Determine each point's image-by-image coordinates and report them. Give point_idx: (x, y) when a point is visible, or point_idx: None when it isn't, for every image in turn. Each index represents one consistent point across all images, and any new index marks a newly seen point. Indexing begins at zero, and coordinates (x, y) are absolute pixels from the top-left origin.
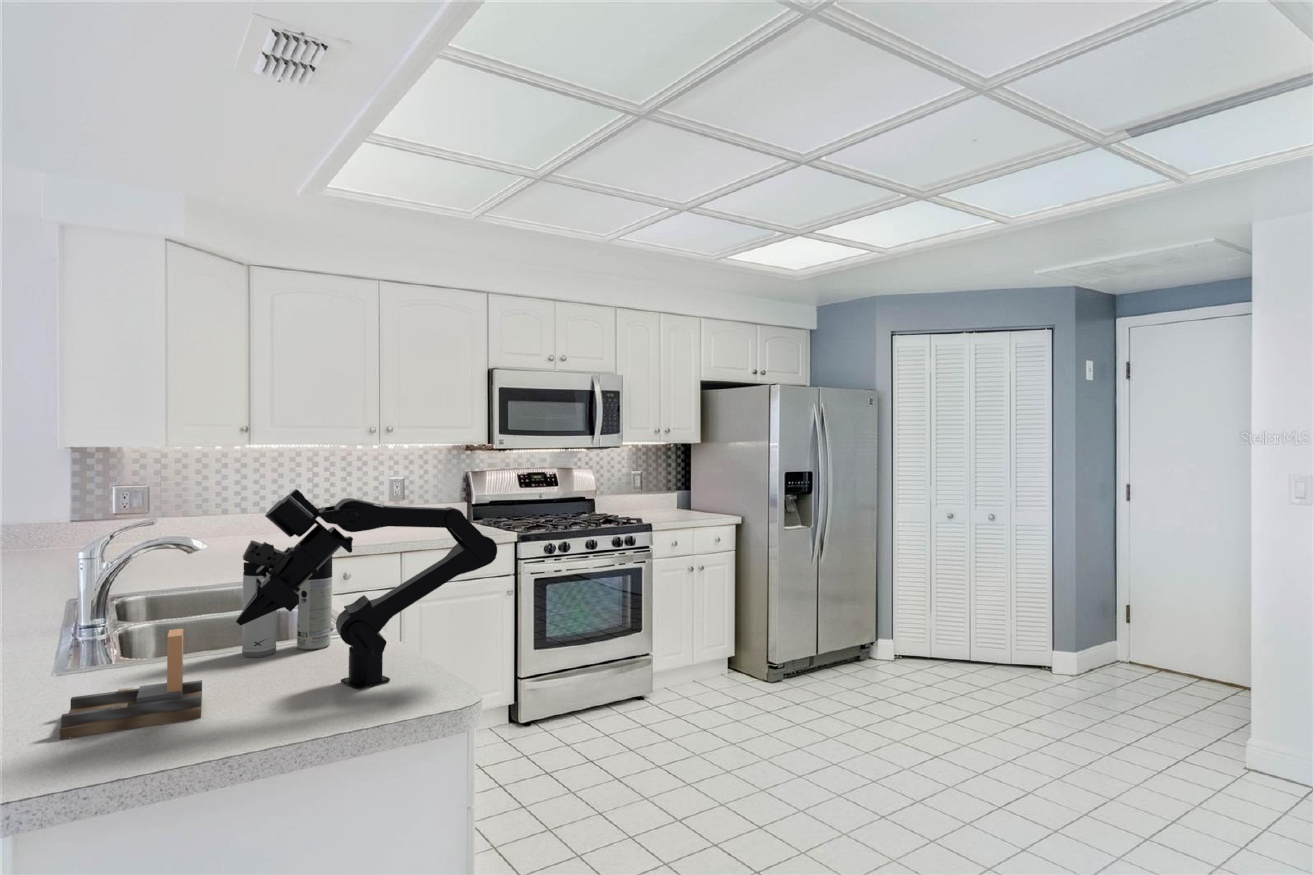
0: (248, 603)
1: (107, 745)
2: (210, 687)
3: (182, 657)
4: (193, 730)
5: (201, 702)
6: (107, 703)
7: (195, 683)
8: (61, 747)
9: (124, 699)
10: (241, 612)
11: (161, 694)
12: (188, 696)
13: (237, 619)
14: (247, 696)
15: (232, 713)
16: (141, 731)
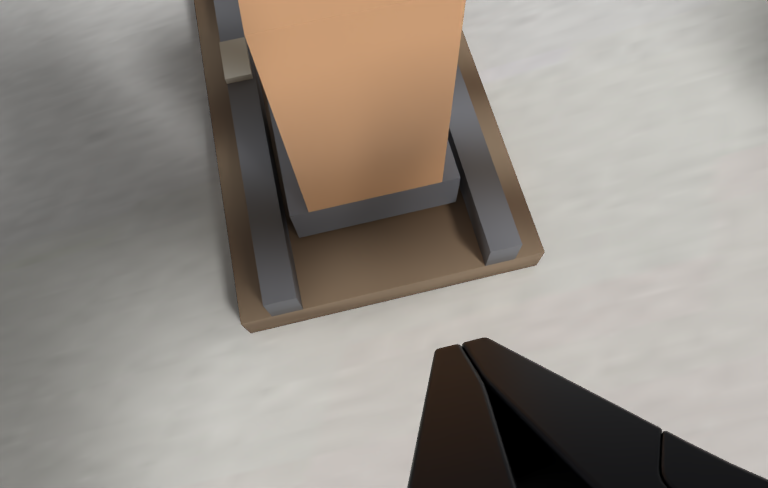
0: (586, 452)
1: (95, 126)
2: (642, 270)
3: (382, 121)
4: (120, 342)
5: (372, 297)
6: None
7: (482, 229)
8: (134, 26)
9: None
10: (541, 368)
11: (279, 153)
12: (417, 234)
13: (439, 356)
14: None
15: (267, 446)
16: (184, 178)
